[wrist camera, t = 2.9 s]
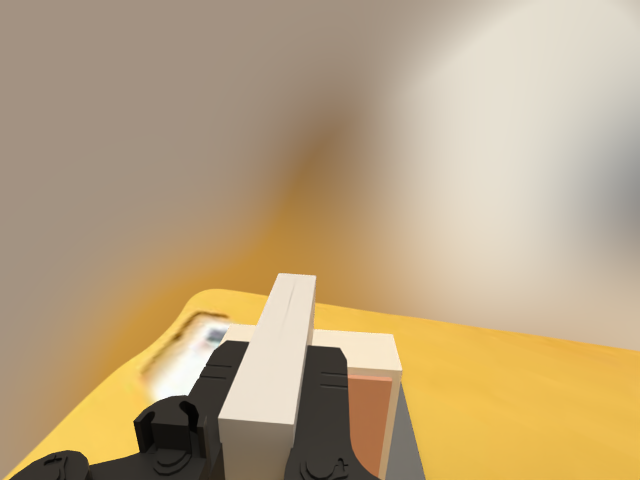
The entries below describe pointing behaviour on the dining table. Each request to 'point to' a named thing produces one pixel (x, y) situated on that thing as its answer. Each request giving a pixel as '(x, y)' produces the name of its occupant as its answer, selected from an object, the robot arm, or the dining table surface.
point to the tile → (360, 388)
